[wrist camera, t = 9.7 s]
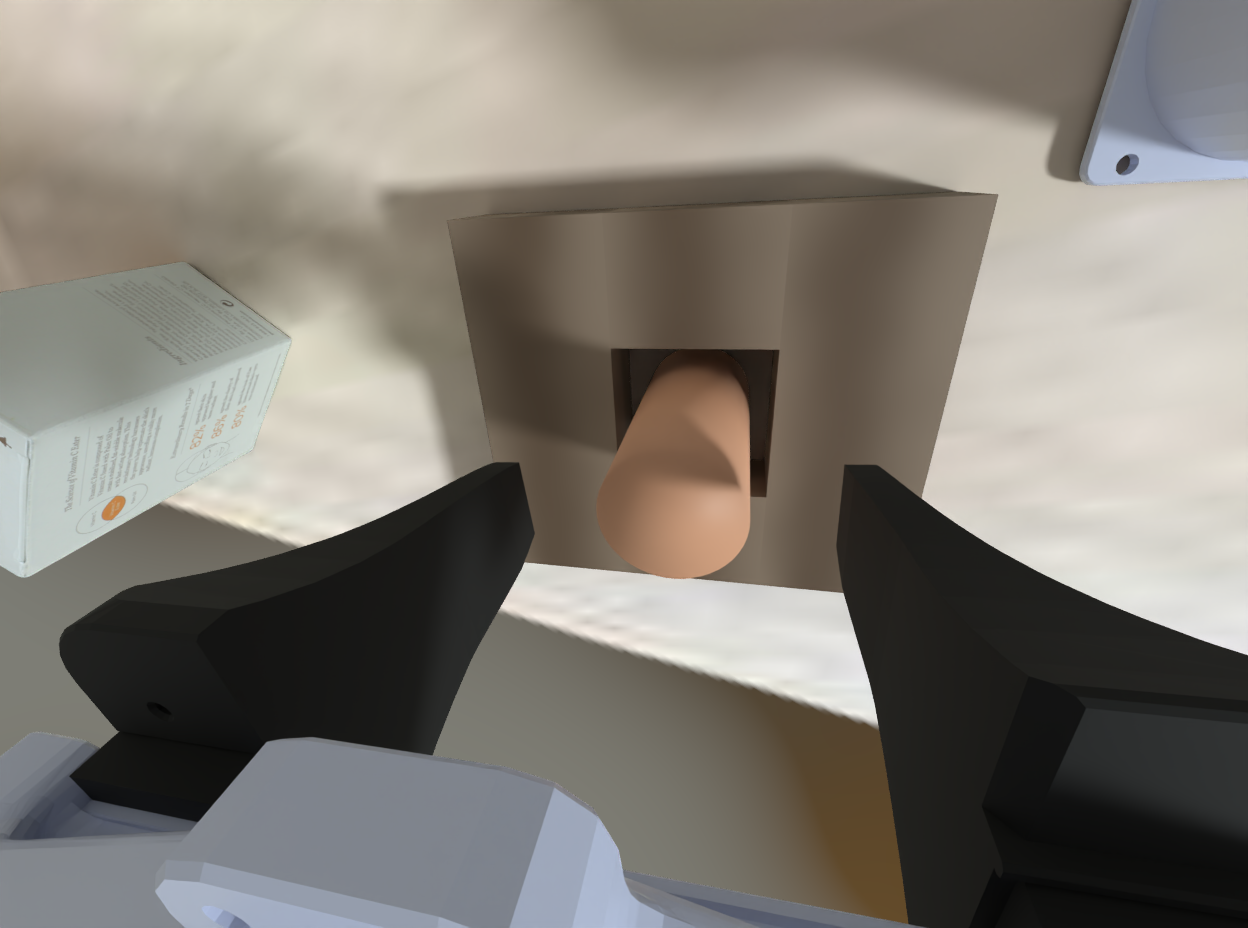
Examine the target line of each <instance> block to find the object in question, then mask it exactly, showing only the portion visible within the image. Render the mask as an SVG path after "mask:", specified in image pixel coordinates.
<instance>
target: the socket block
mask: <svg viewBox="0 0 1248 928" xmlns="http://www.w3.org/2000/svg"><path fill="white" fill-rule="evenodd" d="M997 198H998V194H984V193H970V192H943V193H922V194H902V195H881V196H861V197H840V198H820V199H799V200H779V201H758V202H738V203H718V204H697V205H677V206H656V207H636V208H615V209H595V210H574V211H554V212H533V213H513V214H492V215H482V216H475V217H468V218H461V219H454V220H447V222H448V227H449V232H450V237H451V243H452V248H453V253H454V258H455V264H456V269H457V274H458V279H459V285H460V290H461V295H462V300H463V305H464V311H465V316H466V321H467V326H468V332H469V337H470V342H471V347H472V352H473V358H474V363H475V368H476V373H477V379H478V384H479V389H480V394H481V400H482V405H483V410H484V415H485V420H486V426H487V431H488V436H489V441H490V447H491V452H492V457H493V462H494V463H495V462H519V464H520V468H521V473H522V477H523V482H524V486H525V491H526V495H527V500H528V504H529V509H530V513H531V518H532V522H533V527H534V531H535V535H534V538H533V540H532V543H531V546H530V549H529V552H528V554H527V557H526V559H525V562H527V563H537V564H548V565H558V566H569V567H579V568H589V569H600V570H610V571H621V572H631V573H642V574H650V573H647V572H645V571H642V570H640V569H638V568H636V567H634V566H633V565H631V564H629V563H628V562H627V561H625V560H624V559H622V558H621V557H620V556H619V555H618V554H617V553H616V552H615V551H614V550H613V549H612V548H611V546H610V545H609V544H608V542H607V541H606V539H605V538H604V536H603V534H602V532H601V529H600V527H599V524H598V519H597V512H596V504H597V497H598V493H599V490H600V488H601V485H602V483H603V481H604V479H605V477H606V475H607V472H608V470H609V468H610V466H611V464H612V462H613V460H614V458H615V455H616V453H617V451H618V449H619V447H620V445H621V443H622V441H623V439H624V436H625V434H626V432H627V430H628V428H629V426H630V424H631V422H632V405H631V384H630V363H629V349H764V350H774V351H773V363H772V375H771V386H770V398H769V410H768V422H767V434H766V446H765V458H764V460H751V459H750V529H749V533H748V537H747V540H746V542H745V544H744V546H743V548H742V549H741V551H740V552H739V553H738V555H737V556H736V557H735V558H734V559H733V560H732V561H730V562H729V563H728V564H727V565H725V566H724V567H722V568H721V569H719V570H717V571H715V572H712V573H710V574H707V575H704V576H700V577H695V578H694V579H704V580H714V581H725V582H735V583H746V584H756V585H767V586H777V587H787V588H798V589H808V590H819V591H829V592H840V593H844V592H843V589H842V584H841V577H840V571H839V564H838V556H837V549H836V542H837V532H838V523H839V513H840V503H841V493H842V484H843V474H844V464H847V465H878V466H880V467H881V468H882V469H884V470H885V471H886V472H888V473H889V474H890V475H892V476H893V477H894V478H896V479H897V480H898V481H899V482H901V483H902V484H903V485H904V486H906V487H907V488H908V489H910V490H911V491H912V492H913V493H915V494H916V495H917V496H919V497H920V498H921V497H922V493H923V489H924V485H925V482H926V478H927V474H928V470H929V466H930V462H931V458H932V454H933V450H934V446H935V442H936V438H937V434H938V430H939V426H940V422H941V419H942V415H943V411H944V407H945V403H946V399H947V395H948V391H949V387H950V383H951V379H952V375H953V371H954V367H955V363H956V359H957V356H958V352H959V348H960V344H961V340H962V336H963V332H964V328H965V324H966V320H967V316H968V312H969V308H970V304H971V300H972V296H973V292H974V289H975V285H976V281H977V277H978V273H979V269H980V265H981V261H982V257H983V253H984V249H985V245H986V241H987V237H988V233H989V229H990V226H991V222H992V218H993V214H994V210H995V206H996V202H997ZM652 575H653V574H652Z"/></svg>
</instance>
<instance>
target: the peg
mask: <svg viewBox="0 0 1248 928" xmlns="http://www.w3.org/2000/svg"><path fill="white" fill-rule="evenodd" d="M596 512H597V519H598V524H599V527H600V529H601V532H602V534H603V536H604V538H605V539H606V541H607V542H608V544H609V545H610V546H611V548H612V549H613V550H614V551H615V552H616V553H617V554H618V555H619V556H620V557H621V558H622V559H624V560H625V561H627V562H628V563H629V564H631V565H633V566H634V567H636V568H638V569H640V570H642V571H645V572H647V573H650V574H653V575H656V576H661V577H666V578H674V579H686V578H695V577H700V576H704V575H707V574H710V573H712V572H715V571H717V570H719V569H721V568H722V567H724V566H725V565H727V564H728V563H729V562H730V561H732V560H733V559H734V558H735V557H736V556H737V555H738V553H739V552H740V551H741V549H742V548H743V546H744V544H745V542H746V540H747V537H748V533H749V529H750V421H749V385H748V380H747V378H746V375H745V373H744V371H743V369H742V368H741V366H740V365H739V364H738V363H737V362H736V360H735V359H733V358H732V357H731V356H730V355H728V354H727V353H725V352H723V351H721V350H719V349H680V350H678V351H676V352H674V353H672V354H671V355H669V356H668V357H667V358H665V359H664V360H663V361H662V362H661V364H660V365H659V366H658V368H657V369H656V371H655V373H654V375H653V377H652V379H651V381H650V384H649V386H648V388H647V390H646V392H645V394H644V396H643V398H642V400H641V403H640V405H639V407H638V409H637V411H636V413H635V415H634V417H633V420H632V422H631V424H630V426H629V428H628V430H627V432H626V434H625V436H624V439H623V441H622V443H621V445H620V447H619V449H618V451H617V453H616V455H615V458H614V460H613V462H612V464H611V466H610V468H609V470H608V472H607V475H606V477H605V479H604V481H603V483H602V485H601V488H600V490H599V493H598V497H597V504H596Z"/></svg>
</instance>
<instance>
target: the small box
mask: <svg viewBox="0 0 1248 928" xmlns="http://www.w3.org/2000/svg"><path fill="white" fill-rule="evenodd" d="M290 344H291V338H290V337H288V336H287V335H286V334H284V333H283V332H281V331H280V330H279V329H277V328H276V327H274V326H273V325H272V324H270V323H269V322H268V321H266V320H265V319H263V318H262V317H261V316H259V315H258V314H257V313H255V312H254V311H252V310H251V309H250V308H248V307H247V306H245V305H244V304H243V303H241V302H240V301H238V300H237V299H236V298H234V297H233V296H232V295H230V294H229V293H227V292H226V291H225V290H223V289H222V288H221V287H219V286H218V285H216V284H215V283H214V282H212V281H211V280H210V279H208V278H207V277H205V276H204V275H203V274H201V273H200V272H198V271H197V270H196V269H194V268H193V267H192V266H190V265H189V264H187V263H186V262H177V263H171V264H166V265H160V266H153V267H147V268H141V269H135V270H129V271H124V272H119V273H112V274H105V275H99V276H94V277H88V278H83V279H77V280H71V281H65V282H59V283H53V284H47V285H40V286H35V287H30V288H23V289H18V290H12V291H5V292H0V566H2V567H4V568H5V569H7V570H9V571H10V572H12V573H14V574H15V575H17V576H20V577H29V576H31V575H33V574H35V573H37V572H38V571H40V570H42V569H44V568H45V567H47V566H49V565H50V564H52V563H54V562H56V561H57V560H59V559H61V558H63V557H65V556H66V555H68V554H70V553H72V552H74V551H75V550H77V549H79V548H81V547H82V546H84V545H86V544H88V543H89V542H91V541H93V540H94V539H96V538H98V537H100V536H102V535H103V534H105V533H107V532H109V531H111V530H112V529H114V528H116V527H118V526H119V525H121V524H123V523H125V522H126V521H128V520H130V519H132V518H133V517H135V516H137V515H139V514H140V513H142V512H144V511H146V510H148V509H149V508H151V507H153V506H155V505H156V504H158V503H160V502H162V501H163V500H165V499H167V498H169V497H171V496H172V495H174V494H176V493H178V492H179V491H181V490H183V489H185V488H186V487H188V486H190V485H192V484H193V483H195V482H197V481H199V480H200V479H202V478H204V477H206V476H207V475H209V474H211V473H213V472H215V471H216V470H218V469H220V468H222V467H223V466H225V465H227V464H229V463H230V462H232V461H234V460H236V459H237V458H239V457H241V456H243V455H244V454H246V453H248V452H250V451H251V450H252V449H253V448H254V444H255V441H256V438H257V436H258V433H259V430H260V427H261V425H262V422H263V419H264V416H265V414H266V411H267V408H268V405H269V402H270V399H271V397H272V394H273V391H274V389H275V386H276V383H277V380H278V377H279V374H280V372H281V369H282V366H283V363H284V360H285V358H286V355H287V352H288V349H289V346H290Z"/></svg>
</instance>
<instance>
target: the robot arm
mask: <svg viewBox="0 0 1248 928" xmlns="http://www.w3.org/2000/svg"><path fill="white" fill-rule="evenodd" d="M1125 155H1128V157H1129V158H1130V165H1129V166H1128V168H1127V170H1126V171H1124V172H1123V173H1122V174H1118V173H1117V172H1116V165H1117V163H1118V162H1119V160H1120V159H1121V158H1122V157H1124V156H1125ZM1079 176H1080V178H1081V181H1083V182H1084V183H1085V184H1087V185H1094V186H1102V185H1123V184H1143V183H1164V182H1184V181H1205V180H1226V179H1246V178H1248V0H1132V2H1131V5H1130V8H1129V11H1128V15H1127V18H1126V21H1125V24H1124V28H1123V31H1122V34H1121V37H1120V40H1119V44H1118V47H1117V50H1116V53H1115V56H1114V60H1113V63H1112V66H1111V69H1110V72H1109V76H1108V79H1107V82H1106V85H1105V88H1104V92H1103V95H1102V98H1101V101H1100V104H1099V108H1098V111H1097V114H1096V117H1095V120H1094V124H1093V127H1092V130H1091V133H1090V136H1089V140H1088V143H1087V146H1086V149H1085V152H1084V156H1083V159H1082V162H1081V165H1080V171H1079ZM534 535H535V531H534V527H533V522H532V518H531V513H530V509H529V504H528V500H527V495H526V491H525V486H524V482H523V477H522V473H521V468H520V464H519V462H495V463H492V464H489V465H486V466H484V467H482V468H480V469H477V470H475V471H473V472H471V473H469V474H467V475H465V476H463V477H461V478H459V479H457V480H455V481H453V482H451V483H450V484H448V485H446V486H444V487H442V488H440V489H438V490H436V491H434V492H432V493H430V494H428V495H426V496H424V497H422V498H420V499H418V500H416V501H414V502H412V503H410V504H408V505H406V506H404V507H402V508H400V509H398V510H396V511H393V512H391V513H389V514H387V515H385V516H383V517H381V518H379V519H376V520H374V521H372V522H369V523H367V524H365V525H362V526H360V527H357V528H355V529H352V530H349V531H347V532H344V533H342V534H339V535H337V536H334V537H331V538H328V539H325V540H322V541H319V542H316V543H313V544H310V545H307V546H304V547H301V548H298V549H295V550H291V551H288V552H285V553H282V554H279V555H275V556H272V557H268V558H264V559H261V560H257V561H253V562H249V563H246V564H241V565H237V566H233V567H229V568H225V569H220V570H216V571H211V572H207V573H202V574H197V575H191V576H187V577H181V578H176V579H170V580H166V581H160V582H155V583H150V584H143V585H137V586H134V587H131V588H129V589H126V590H124V591H122V592H120V593H118V594H117V595H115V596H114V597H112V598H111V599H109V600H108V601H106V602H105V603H103V604H102V605H100V606H99V607H97V608H96V609H94V610H93V611H91V612H90V613H88V614H87V615H85V616H84V617H82V618H81V619H79V620H78V621H76V622H75V623H73V624H72V625H70V626H69V627H67V628H66V629H65V630H64V632H63V633H62V635H61V637H60V643H59V647H60V656H61V658H62V661H63V663H64V665H65V667H66V669H67V670H68V672H69V673H70V675H71V676H72V677H73V679H74V680H75V682H76V683H77V684H78V685H79V686H80V688H81V689H82V690H83V691H84V692H85V693H86V694H87V695H88V697H89V698H90V699H91V701H92V702H93V703H94V704H95V705H96V706H97V707H98V709H99V710H100V711H101V712H102V713H103V715H104V716H105V717H106V718H107V719H108V720H109V722H110V723H111V724H112V725H113V726H114V727H115V728H116V730H117V731H120V732H118V734H116V735H115V736H114V737H113V738H112V739H111V740H109V741H108V742H107V743H106V744H105V745H104V746H103V747H101V749H100V748H99V747H97V746H95V745H93V744H92V743H90V742H88V741H85V740H82V739H79V738H73V737H68V736H62V735H56V734H50V733H45V732H34V733H30V734H28V735H27V736H26V737H25V738H23V739H22V740H21V741H20V742H18V743H17V744H15V745H14V746H13V747H12V748H10V749H9V750H8V751H6V752H5V753H4V754H3V755H1V756H0V928H1248V655H1245V654H1242V653H1239V652H1236V651H1233V650H1229V649H1226V648H1223V647H1220V646H1217V645H1214V644H1211V643H1208V642H1205V641H1202V640H1199V639H1197V638H1194V637H1191V636H1189V635H1186V634H1183V633H1181V632H1178V631H1175V630H1173V629H1170V628H1167V627H1165V626H1162V625H1159V624H1156V623H1154V622H1151V621H1148V620H1146V619H1143V618H1141V617H1138V616H1136V615H1133V614H1131V613H1128V612H1126V611H1123V610H1121V609H1119V608H1116V607H1114V606H1111V605H1109V604H1106V603H1104V602H1102V601H1100V600H1097V599H1095V598H1093V597H1091V596H1089V595H1086V594H1084V593H1082V592H1080V591H1077V590H1075V589H1073V588H1071V587H1069V586H1066V585H1064V584H1062V583H1060V582H1058V581H1056V580H1054V579H1052V578H1050V577H1048V576H1046V575H1043V574H1041V573H1039V572H1038V571H1036V570H1034V569H1032V568H1030V567H1028V566H1026V565H1024V564H1023V563H1021V562H1019V561H1017V560H1015V559H1013V558H1012V557H1010V556H1008V555H1006V554H1004V553H1002V552H1001V551H999V550H997V549H996V548H994V547H992V546H990V545H989V544H987V543H985V542H984V541H982V540H981V539H979V538H978V537H976V536H974V535H973V534H971V533H970V532H968V531H967V530H965V529H964V528H962V527H961V526H959V525H957V524H956V523H955V522H953V521H952V520H950V519H949V518H947V517H946V516H944V515H943V514H942V513H940V512H939V511H937V510H936V509H935V508H933V507H932V506H931V505H929V504H928V503H927V502H925V501H924V500H923V499H921V498H920V497H919V496H917V495H916V494H915V493H913V492H912V491H911V490H910V489H908V488H907V487H906V486H904V485H903V484H902V483H901V482H899V481H898V480H897V479H896V478H894V477H893V476H892V475H890V474H889V473H888V472H886V471H885V470H884V469H882V468H881V467H880V466H878V465H847V464H844V474H843V484H842V493H841V503H840V513H839V523H838V532H837V542H836V549H837V556H838V564H839V571H840V577H841V584H842V589H843V592H844V596H845V599H846V603H847V606H848V610H849V613H850V617H851V620H852V624H853V627H854V631H855V634H856V637H857V641H858V644H859V648H860V651H861V654H862V658H863V661H864V665H865V668H866V672H867V675H868V678H869V682H870V686H871V690H872V694H873V699H874V703H875V708H876V714H877V719H878V725H879V731H880V736H881V742H882V748H883V753H884V759H885V766H886V771H887V778H888V784H889V790H890V796H891V803H892V809H893V816H894V823H895V829H896V836H897V843H898V850H899V856H900V863H901V870H902V877H903V884H904V892H905V900H906V908H907V915H908V923H909V924H904V923H899V922H894V921H889V920H884V919H878V918H873V917H867V916H863V915H857V914H852V913H847V912H841V911H836V910H831V909H825V908H821V907H815V906H810V905H805V904H800V903H794V902H789V901H784V900H779V899H774V898H769V897H763V896H758V895H753V894H748V893H743V892H737V891H732V890H727V889H722V888H716V887H711V886H706V885H700V884H695V883H690V882H685V881H679V880H675V879H669V878H664V877H659V876H654V875H649V874H643V873H638V872H633V871H628V870H622V865H621V860H620V855H619V850H618V848H617V846H616V844H615V843H614V841H613V840H612V838H611V836H610V834H609V833H608V831H607V830H606V828H605V826H604V825H603V823H602V822H601V820H600V819H599V817H598V815H597V814H596V812H595V810H594V809H593V808H592V807H591V806H590V805H588V804H586V803H585V802H584V801H582V800H581V799H579V798H578V797H576V796H574V795H573V794H572V793H570V792H569V791H567V790H566V789H564V788H563V787H561V786H560V785H558V784H557V783H555V782H554V781H551V780H547V779H544V778H541V777H538V776H535V775H531V774H528V773H525V772H522V771H519V770H515V769H512V768H509V767H505V766H498V765H491V764H485V763H478V762H472V761H465V760H459V759H452V758H445V757H439V756H433V752H434V750H435V746H436V744H437V741H438V738H439V736H440V734H441V731H442V728H443V726H444V723H445V721H446V718H447V716H448V713H449V711H450V708H451V706H452V703H453V701H454V698H455V695H456V694H457V691H458V689H459V687H460V684H461V682H462V680H463V677H464V675H465V673H466V670H467V668H468V666H469V664H470V661H471V659H472V657H473V655H474V653H475V651H476V649H477V648H478V646H479V644H480V642H481V640H482V638H483V637H484V635H485V633H486V631H487V629H488V628H489V626H490V624H491V623H492V620H493V619H494V617H495V615H496V614H497V612H498V610H499V609H500V607H501V605H502V603H503V602H504V600H505V598H506V596H507V595H508V593H509V591H510V589H511V587H512V586H513V584H514V582H515V580H516V578H517V576H518V575H519V573H520V571H521V569H522V567H523V564H524V562H525V559H526V557H527V554H528V552H529V549H530V546H531V543H532V540H533V538H534Z"/></svg>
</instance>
